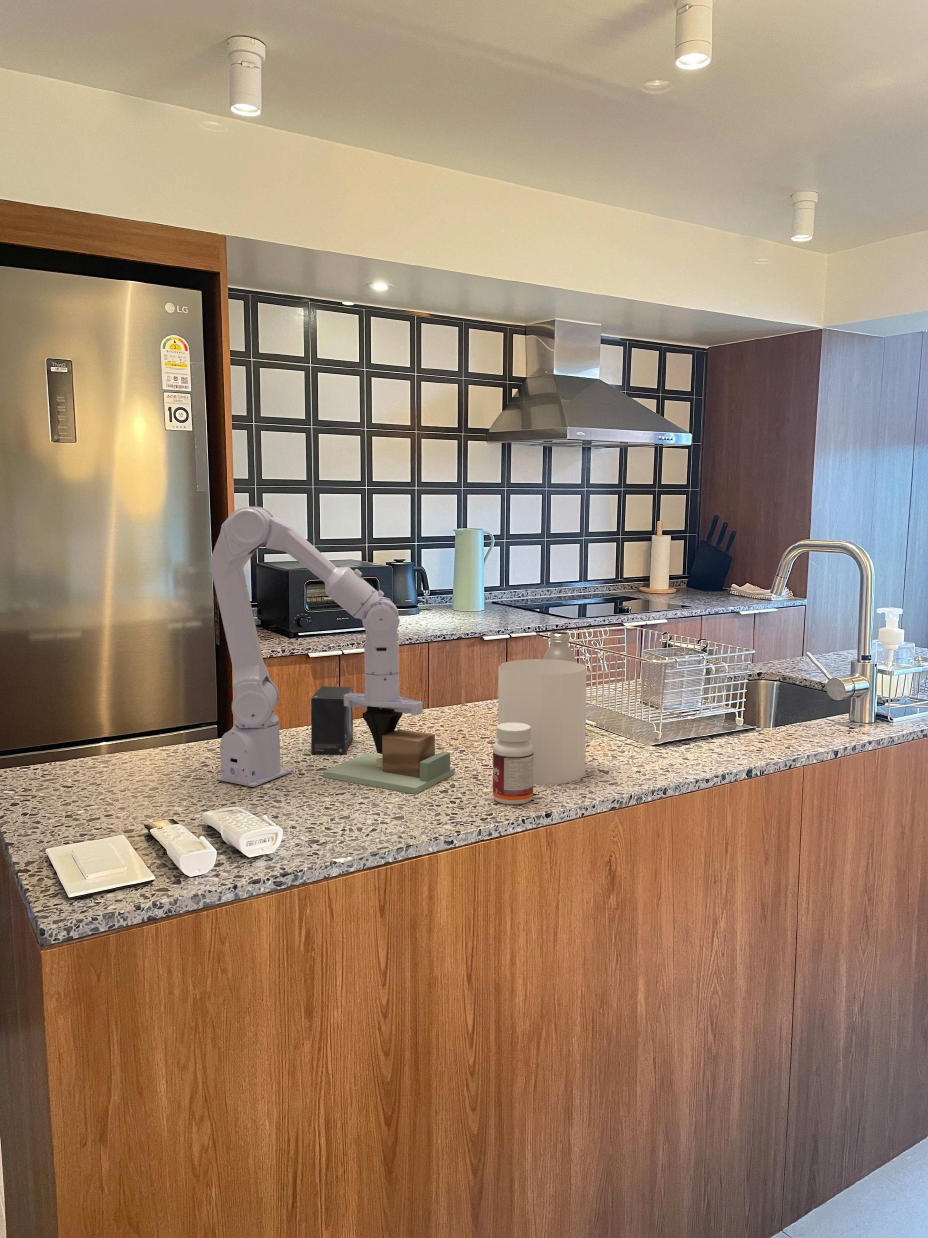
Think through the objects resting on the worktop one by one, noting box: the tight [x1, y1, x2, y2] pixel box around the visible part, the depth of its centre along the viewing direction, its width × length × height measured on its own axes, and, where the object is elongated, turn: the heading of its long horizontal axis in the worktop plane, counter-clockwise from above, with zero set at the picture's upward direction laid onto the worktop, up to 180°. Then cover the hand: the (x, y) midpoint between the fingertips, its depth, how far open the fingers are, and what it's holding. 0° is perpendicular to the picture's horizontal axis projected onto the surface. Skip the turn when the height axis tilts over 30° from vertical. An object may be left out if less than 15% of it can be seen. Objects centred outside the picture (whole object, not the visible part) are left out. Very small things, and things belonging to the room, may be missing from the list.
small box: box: [310, 685, 354, 755], centre depth 162 cm, size 11×6×10 cm, turn 179°
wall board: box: [322, 751, 456, 795], centre depth 145 cm, size 12×18×4 cm, turn 61°
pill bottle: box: [492, 723, 534, 805], centre depth 133 cm, size 6×6×11 cm
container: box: [497, 658, 588, 786], centre depth 147 cm, size 14×14×18 cm
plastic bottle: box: [542, 631, 577, 663], centre depth 170 cm, size 6×7×20 cm
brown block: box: [381, 728, 436, 778], centre depth 144 cm, size 5×7×6 cm
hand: (383, 752), depth 147 cm, fingers closed
